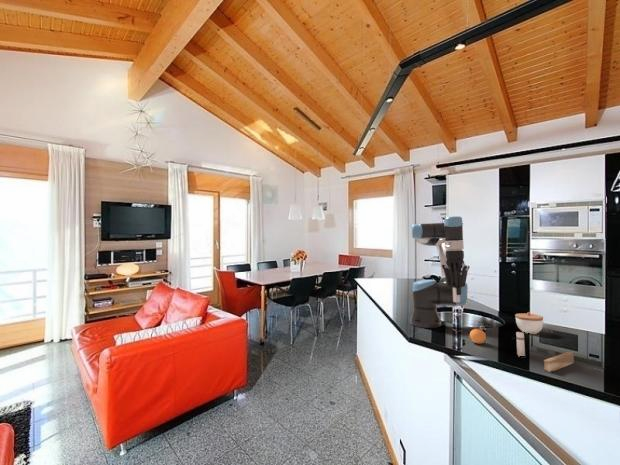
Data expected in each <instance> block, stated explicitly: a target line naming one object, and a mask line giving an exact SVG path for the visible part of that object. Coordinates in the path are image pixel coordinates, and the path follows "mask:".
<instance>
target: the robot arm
mask: <svg viewBox="0 0 620 465" xmlns="http://www.w3.org/2000/svg"><path fill="white" fill-rule="evenodd" d="M463 225H464V223H463V217H461V216H456V215H454V216H447V217H444V222H437V223H435V222H433V223H414V224H412V225H411V235H412V236H411V237H412V238H413V239H414V240H415V241H416V242H417V243H418V244H419V245H424V246H429V247H431V246H433V247H434V246H435V247H436V249H437V250H438V252H439V261H440V262H439V263H440V270H441V278H440V280H439V282H437V281H436V280H435V279H421V280H418V281H414V282H413V283H412V301H413V302H412V305H413V306H412V308H413V309H412V313H411V316H410V320H409V321H410V325H412V326H414V327H418V328H424V329H434V328H435V329H437V328H440V327H441V326H442V320H441V318H440V315H439V312H438V311H437V310H438V308H437V307H438V306H455V307H460V306H461V307H463V306H466V305H467V301H468V283H467V277H468V273H469V272H468V271H469V269H470V265H467V264H466V263H465V261H464V258H465V252H464V234H463V233H464V230H463Z"/></svg>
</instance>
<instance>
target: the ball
mask: <svg viewBox="0 0 620 465" xmlns="http://www.w3.org/2000/svg"><path fill="white" fill-rule="evenodd" d="M469 338H470V340H471V341H472V342H473V343H475V344H480V345H481V344H483V343H484V342H486V338H487V335H486V333H485V331H483V330H482V329H480V328H474V329H472V330H471V331H470V333H469Z"/></svg>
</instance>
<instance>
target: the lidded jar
mask: <svg viewBox="0 0 620 465" xmlns="http://www.w3.org/2000/svg"><path fill="white" fill-rule="evenodd" d="M514 316H515V323H516V326H517V328H518V329H519V330H520V331H521V332H522V333H524V332H525V333H524V334H528V333H530V334H529V335H538V334H539V332H541V330H543V327H544V326H543V325H544V316H542V315H539V314H535V313H534V314H533V313H531V312H530V311H527V313H525V312H524V313H522V312H521V313H516V314H514ZM537 333H538V334H537Z"/></svg>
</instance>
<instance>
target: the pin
mask: <svg viewBox="0 0 620 465" xmlns="http://www.w3.org/2000/svg"><path fill="white" fill-rule="evenodd" d="M515 335H516V337H515V338H516V354H517V355H518V356H517V357H520V356H525V357H526V348H525V333H524V332H522V331H516V332H515Z"/></svg>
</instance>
